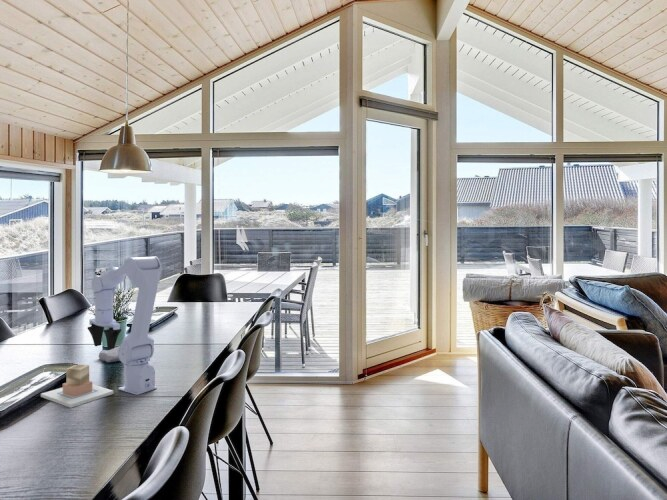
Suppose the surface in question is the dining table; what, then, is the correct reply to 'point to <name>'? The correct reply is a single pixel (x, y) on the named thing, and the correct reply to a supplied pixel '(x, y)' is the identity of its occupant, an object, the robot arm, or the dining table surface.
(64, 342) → the dining table surface
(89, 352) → the dining table surface
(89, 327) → the robot arm
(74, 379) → the maple block
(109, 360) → the stone block
